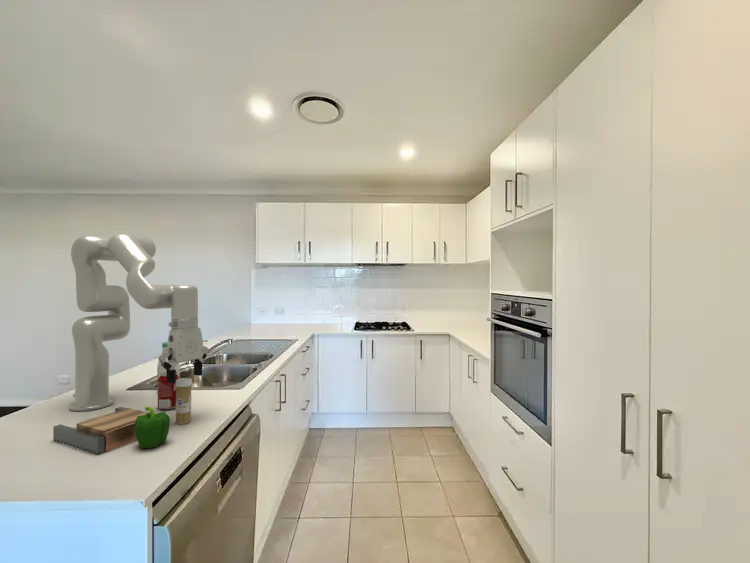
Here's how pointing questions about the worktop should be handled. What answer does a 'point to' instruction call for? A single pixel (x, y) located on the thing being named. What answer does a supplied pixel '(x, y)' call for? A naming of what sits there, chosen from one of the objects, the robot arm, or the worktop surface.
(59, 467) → the worktop surface
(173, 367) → the robot arm
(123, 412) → the slab
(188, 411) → the sprinkles bottle
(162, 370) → the milk bottle
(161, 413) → the bell pepper
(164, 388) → the soda can
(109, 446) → the roller track
